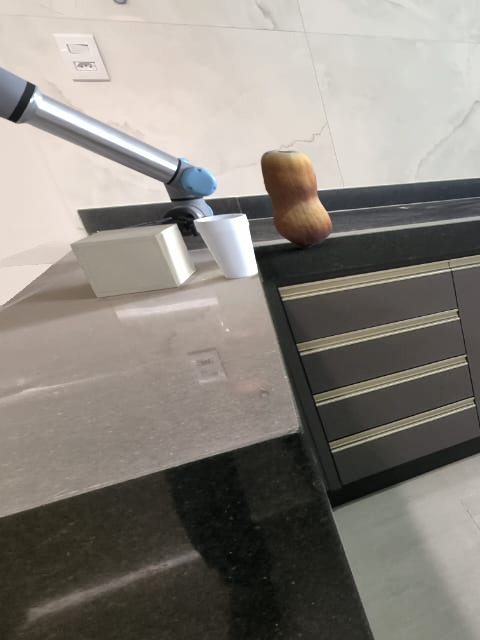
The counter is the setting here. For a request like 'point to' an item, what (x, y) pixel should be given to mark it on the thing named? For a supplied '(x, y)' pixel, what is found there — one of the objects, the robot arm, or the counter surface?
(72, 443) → the counter surface
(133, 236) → the beige rounded box
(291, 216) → the butternut squash
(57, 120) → the robot arm
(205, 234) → the foam cup
